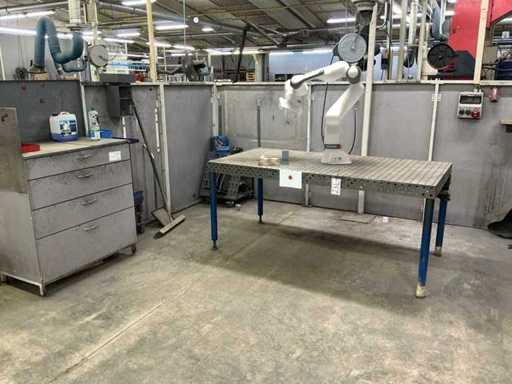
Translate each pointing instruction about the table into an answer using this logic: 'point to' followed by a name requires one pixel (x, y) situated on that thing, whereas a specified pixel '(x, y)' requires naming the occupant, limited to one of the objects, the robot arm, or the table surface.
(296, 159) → the table surface
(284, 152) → the bracket
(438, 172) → the table surface
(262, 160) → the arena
